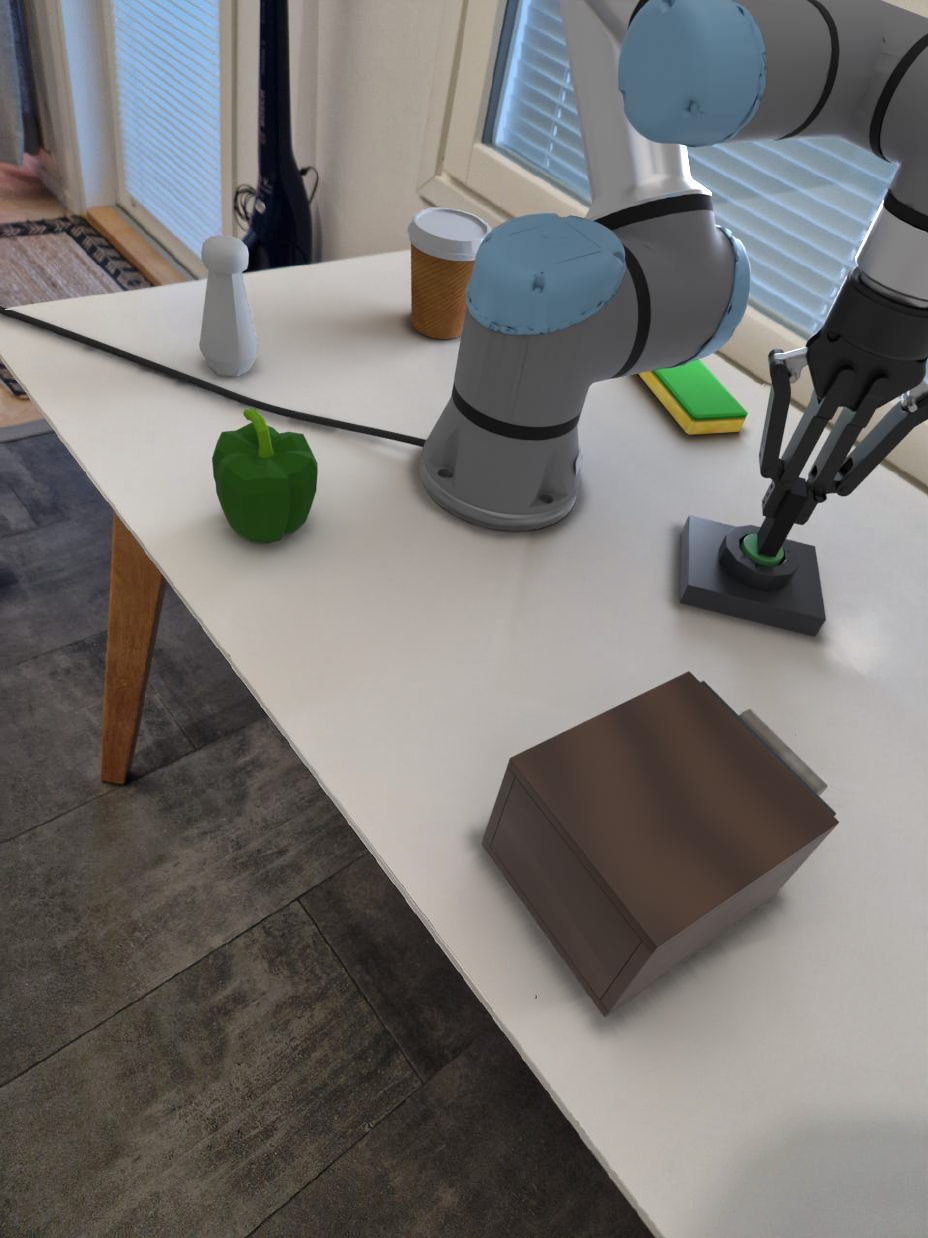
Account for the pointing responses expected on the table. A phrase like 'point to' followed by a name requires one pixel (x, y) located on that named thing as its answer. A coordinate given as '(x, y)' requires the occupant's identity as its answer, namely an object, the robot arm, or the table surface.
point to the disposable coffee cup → (442, 268)
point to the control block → (749, 578)
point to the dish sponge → (696, 399)
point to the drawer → (779, 750)
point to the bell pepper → (264, 479)
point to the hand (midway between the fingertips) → (766, 545)
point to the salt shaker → (227, 308)
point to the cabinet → (649, 835)
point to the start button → (751, 551)
